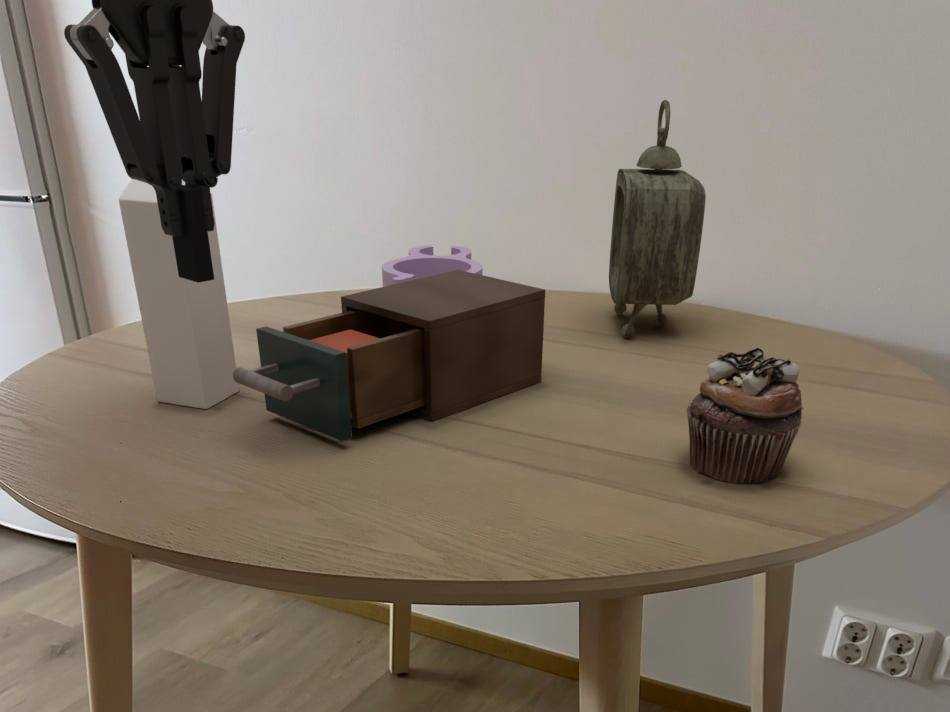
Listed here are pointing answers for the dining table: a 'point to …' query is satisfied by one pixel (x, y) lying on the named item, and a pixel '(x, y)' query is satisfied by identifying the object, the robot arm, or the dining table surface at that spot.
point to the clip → (428, 264)
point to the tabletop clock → (655, 231)
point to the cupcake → (745, 418)
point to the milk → (178, 309)
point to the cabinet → (466, 335)
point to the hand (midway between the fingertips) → (196, 277)
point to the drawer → (339, 372)
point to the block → (345, 344)
